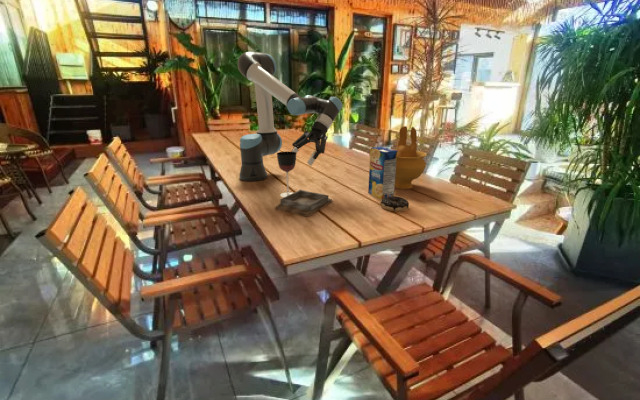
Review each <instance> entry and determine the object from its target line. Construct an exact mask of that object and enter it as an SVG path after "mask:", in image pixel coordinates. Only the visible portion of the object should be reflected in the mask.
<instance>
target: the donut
mask: <svg viewBox="0 0 640 400" xmlns="http://www.w3.org/2000/svg"><path fill="white" fill-rule="evenodd" d="M379 205H380V206H381V208H382V209H384V210H386V211H390V212H398V213H399V212H405V211H406V210H408V209H409V207H410V202H409V201H408V200H407V199H406V198H404V197H402V196H397V195H394V196H391V197H385V198H383V199H382V200H381V201H380V204H379Z"/></svg>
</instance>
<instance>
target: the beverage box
mask: <svg viewBox="0 0 640 400" xmlns="http://www.w3.org/2000/svg"><path fill="white" fill-rule="evenodd" d="M396 163H397V150H393V148H388V147H386V146H375V147H370V150H369V173H368V191H367V193H368V194H369V195H371V196H373V197H375V198H377V199H379V200H381V201H382V199H383V198H385V197H391V196H395V176H396Z"/></svg>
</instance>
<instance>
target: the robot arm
mask: <svg viewBox="0 0 640 400" xmlns="http://www.w3.org/2000/svg"><path fill="white" fill-rule="evenodd" d="M237 68H238V71H239V73H240V74H241V75H242V76H243V77H244V78H246V79H247V80H248V81H250V82H253V83H254V90H255V100H256V109H257V121H258V129H257V130H256V133H250V134H249V133H248V134H244V135H242V136H241V137H240V139H239V149H240V159H241V167H240V171H239V175H238V176H239V179H240V180H241V181H243V182H259V181H263V180H265V179H267V178H268V173H267V170H266V168H265V165H264V157H266V156H269V155H275V154H277V153H279V152H280V150H281V148H282V146H283V140H282V137H281V136H280V134H279V133H278V130H277V129H276V128H275V123H274V121H275V120H274V119H275V118H274V110H273V109H274V108H273V97H274V98H276V99H277V100H278V101H279V102H280V103H282V104H283V105H285V107H287V108H286V109H287V111H288V113H289V114H291V115H292V116H302V115H307V114H308V115H309V114H316V115H318V116H317V117H316V119H315V121H314V123H313V124H312V126H311V129H310V131H309V132H308V131H307V130H305V131H304V133H303V134H302V135H300V136H299V137H298V138H297V139H296V140H295V141H294V142H293V143H292V145H291V146H293V148H292V150H291V151H290V152H296V155H297V154H298V152H299V150H300V149H301V148H302V147H303V146H305V145H307V144H310V143H314V145H315V150H313V152H312V153H311V155H310V157H309V158H308V160H307V162H306V163H307V164H308V165H309V166H311V167H312V166H313V164H314V162H315V161H316V160H317V159H318V157H319V156H320V155H321V154H325V151H326V146H327V145H326V143H327V140H328V136H327V132H328V131H329V129H330V128H331V126H332V125H333V123H334V121H335V119H336V118H337V116H338V115H339V113H340V111H342V108H343V103H342V101H341V99H339V98H338V97H337V96H330V97H329V98H328V99H324V98H320V97H318V96H317V97H316V96H314V95H310V94H307V95H305V96H304V97H302V96H300V95H299V94H298V93H296V92H295V91H293V90H292V89H291V88H290V87H288V86H287V85H286V84H284V83H283V82H281V80H279V79H278V78H277V77H275V76H274V75H275V74H276V72H277V68H278V67H277V63H276V59H275V58H274V57H273V56H272V55H271V54H269V53H265V52H257V51H256V52H254V51H245V52H243V53H242V54H241V55H239V57H238V59H237Z"/></svg>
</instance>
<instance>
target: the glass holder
mask: <svg viewBox="0 0 640 400" xmlns="http://www.w3.org/2000/svg"><path fill="white" fill-rule="evenodd" d="M291 193H292V194H290V195H288V196H286V197H282V198H281V199H280V204H278V205H276V206H275V209H276V210H278V211H283V212H287V213H292V214H295V215H300V216H303V217H307V218H309V217H310V216H311V215H313V214H315V213H317V212H318V211H319V210H321V209H322V208H324V207H326V206H328V205H329V204H331V203H332V202H333V199H332V198H329V195H328V194H324V193H319V192H313V191H309V190H303V189H299V190H297V191H295V192H291Z"/></svg>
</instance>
